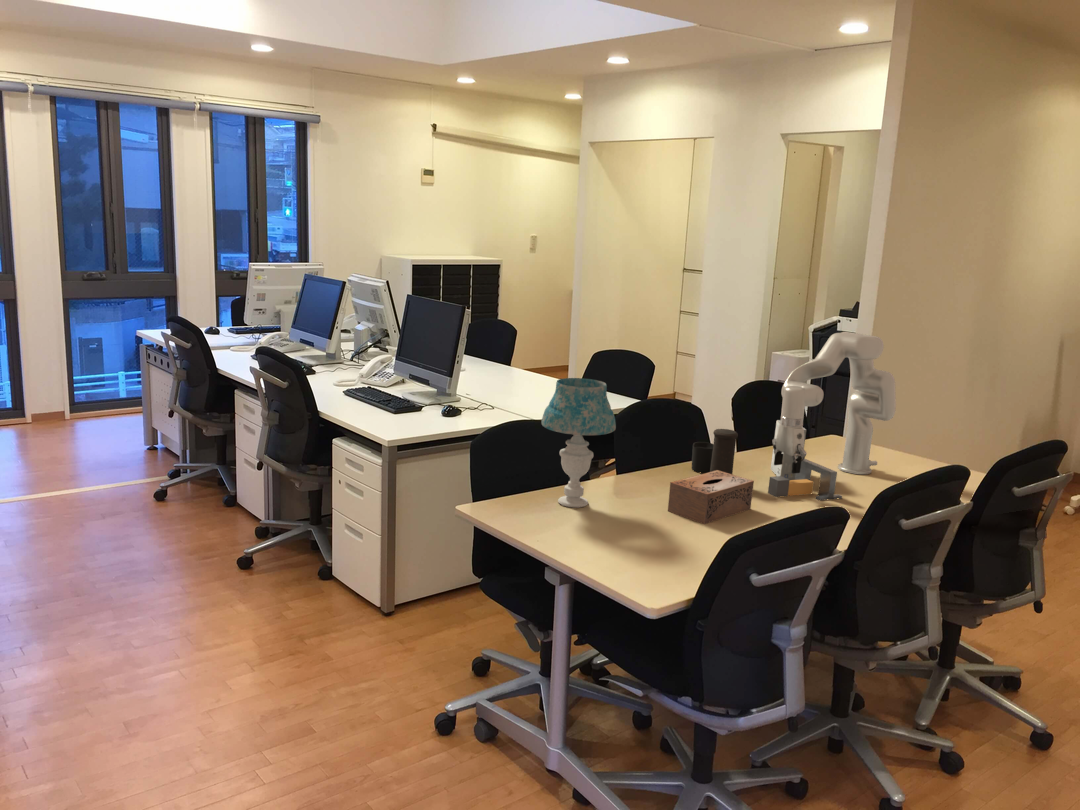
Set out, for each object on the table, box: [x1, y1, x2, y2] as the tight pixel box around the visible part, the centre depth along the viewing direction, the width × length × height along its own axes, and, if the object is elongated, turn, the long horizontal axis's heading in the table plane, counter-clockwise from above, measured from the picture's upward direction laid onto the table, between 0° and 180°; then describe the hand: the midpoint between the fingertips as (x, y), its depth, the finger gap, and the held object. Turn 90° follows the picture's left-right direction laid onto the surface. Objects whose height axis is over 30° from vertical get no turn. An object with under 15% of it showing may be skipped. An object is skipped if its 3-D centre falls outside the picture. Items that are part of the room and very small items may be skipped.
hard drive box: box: [770, 419, 807, 480], centre depth 325 cm, size 16×8×20 cm, turn 179°
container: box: [710, 428, 739, 475], centre depth 309 cm, size 9×9×20 cm
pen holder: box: [691, 441, 714, 474], centre depth 325 cm, size 9×9×10 cm
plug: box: [767, 475, 814, 498], centre depth 303 cm, size 16×5×6 cm, turn 112°
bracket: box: [795, 458, 843, 501], centre depth 307 cm, size 10×18×10 cm, turn 22°
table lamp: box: [541, 377, 617, 509], centre depth 274 cm, size 24×24×40 cm
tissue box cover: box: [667, 470, 755, 525], centre depth 279 cm, size 26×14×10 cm, turn 133°
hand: (786, 468), depth 301 cm, fingers open, 9 cm apart
